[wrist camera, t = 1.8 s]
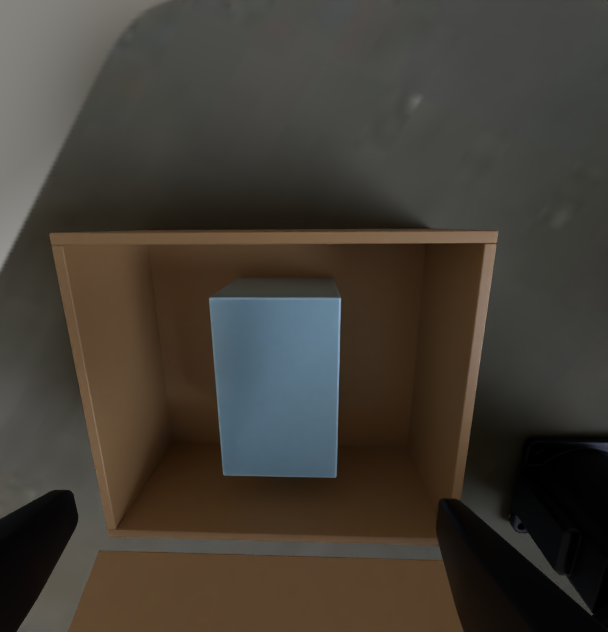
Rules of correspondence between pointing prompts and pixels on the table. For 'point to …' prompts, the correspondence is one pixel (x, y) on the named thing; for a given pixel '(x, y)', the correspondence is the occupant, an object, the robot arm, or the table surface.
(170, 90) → the table surface
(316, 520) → the carton
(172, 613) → the flap
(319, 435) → the case
